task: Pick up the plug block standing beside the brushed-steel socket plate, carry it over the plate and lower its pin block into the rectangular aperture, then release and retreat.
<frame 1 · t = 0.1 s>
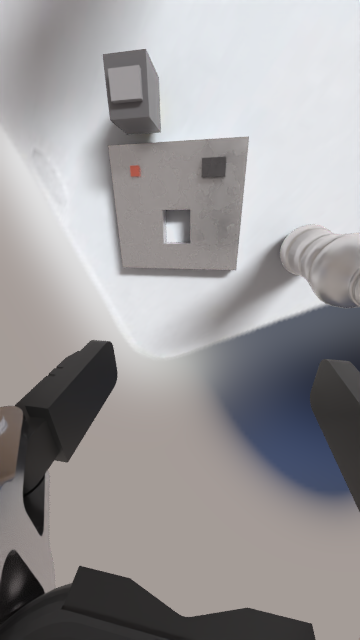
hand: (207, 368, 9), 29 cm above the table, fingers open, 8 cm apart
plug: (147, 114, 29), on the table
socket plate: (178, 212, 33), on the table
plastic bottle: (299, 248, 33), on the table
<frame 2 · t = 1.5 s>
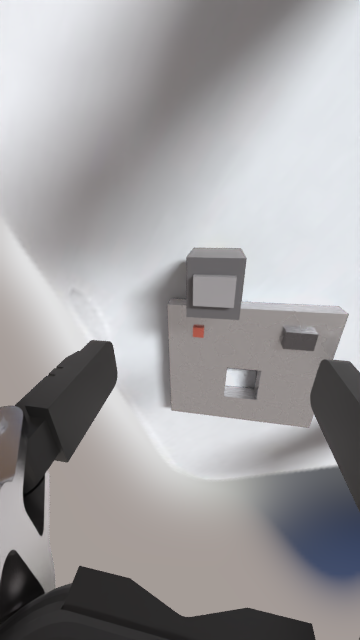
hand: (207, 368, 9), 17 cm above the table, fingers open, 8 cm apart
plug: (215, 269, 24), on the table
socket plate: (242, 361, 28), on the table
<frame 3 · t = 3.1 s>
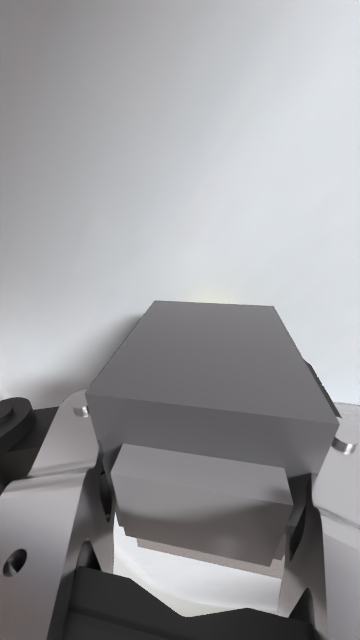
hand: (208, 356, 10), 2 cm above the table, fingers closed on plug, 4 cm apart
plug: (210, 335, 11), on the table, touching gripper
socket plate: (260, 483, 15), on the table
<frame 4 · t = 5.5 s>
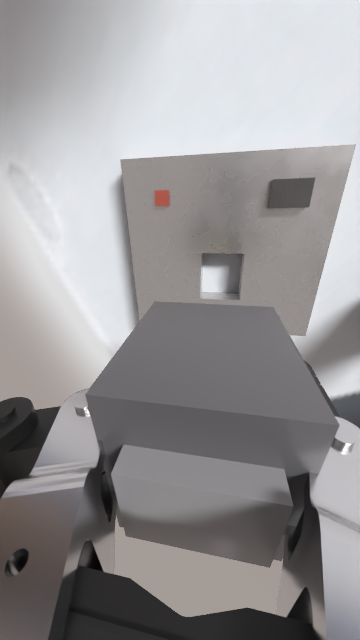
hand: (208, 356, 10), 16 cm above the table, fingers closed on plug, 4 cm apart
plug: (210, 335, 11), point 14 cm above the table, touching gripper
socket plate: (222, 253, 23), on the table
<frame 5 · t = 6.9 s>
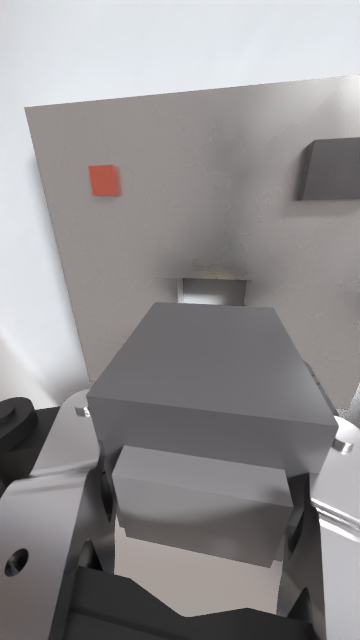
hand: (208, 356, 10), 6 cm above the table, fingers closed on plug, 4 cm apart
plug: (210, 336, 11), point 4 cm above the table, touching gripper
socket plate: (214, 275, 14), on the table
when the fingers open (3 cm above the table, at t = 7.9 s): plug stays where it is, resting on socket plate.
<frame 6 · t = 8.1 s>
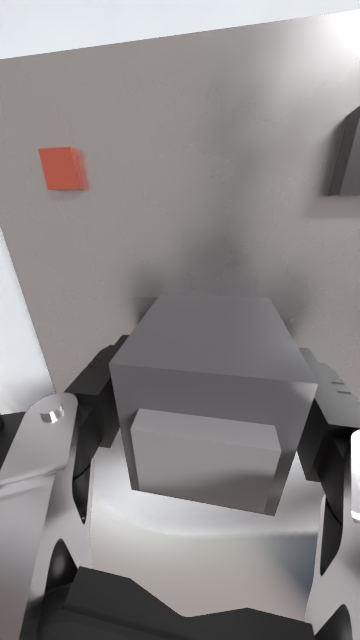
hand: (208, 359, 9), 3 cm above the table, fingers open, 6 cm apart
plug: (211, 327, 12), resting on socket plate
socket plate: (213, 291, 11), on the table
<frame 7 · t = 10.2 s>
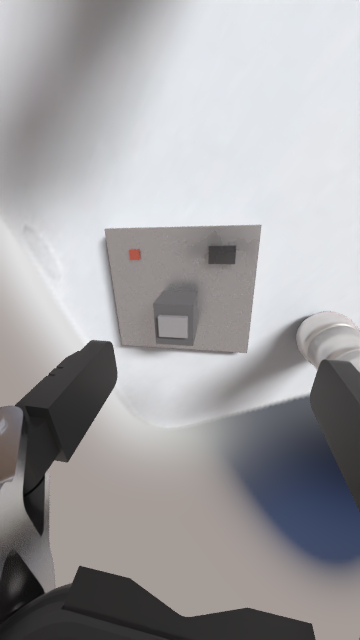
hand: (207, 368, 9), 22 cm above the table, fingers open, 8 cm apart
plug: (183, 304, 31), resting on socket plate
socket plate: (182, 290, 30), on the table
plastic bottle: (317, 329, 30), on the table
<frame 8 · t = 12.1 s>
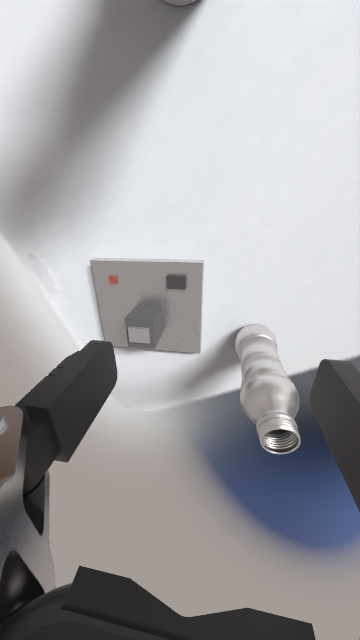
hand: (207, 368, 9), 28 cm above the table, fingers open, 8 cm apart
plug: (152, 315, 40), resting on socket plate
socket plate: (151, 305, 39), on the table
plastic bottle: (252, 336, 39), on the table
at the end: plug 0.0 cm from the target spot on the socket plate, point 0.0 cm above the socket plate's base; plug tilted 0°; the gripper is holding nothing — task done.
